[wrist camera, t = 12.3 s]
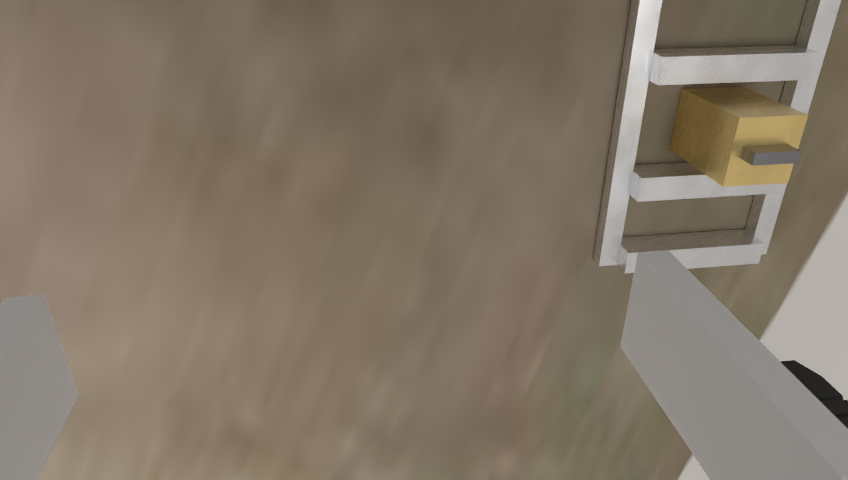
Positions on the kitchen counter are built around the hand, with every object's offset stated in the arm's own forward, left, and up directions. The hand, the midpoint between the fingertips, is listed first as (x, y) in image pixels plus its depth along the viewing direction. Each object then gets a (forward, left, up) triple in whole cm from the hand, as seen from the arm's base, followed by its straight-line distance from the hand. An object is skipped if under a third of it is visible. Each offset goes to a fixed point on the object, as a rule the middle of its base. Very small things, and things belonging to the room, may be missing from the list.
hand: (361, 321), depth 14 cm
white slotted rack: (+5, +26, -29) cm, 39 cm away
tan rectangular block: (+5, +26, -29) cm, 39 cm away
